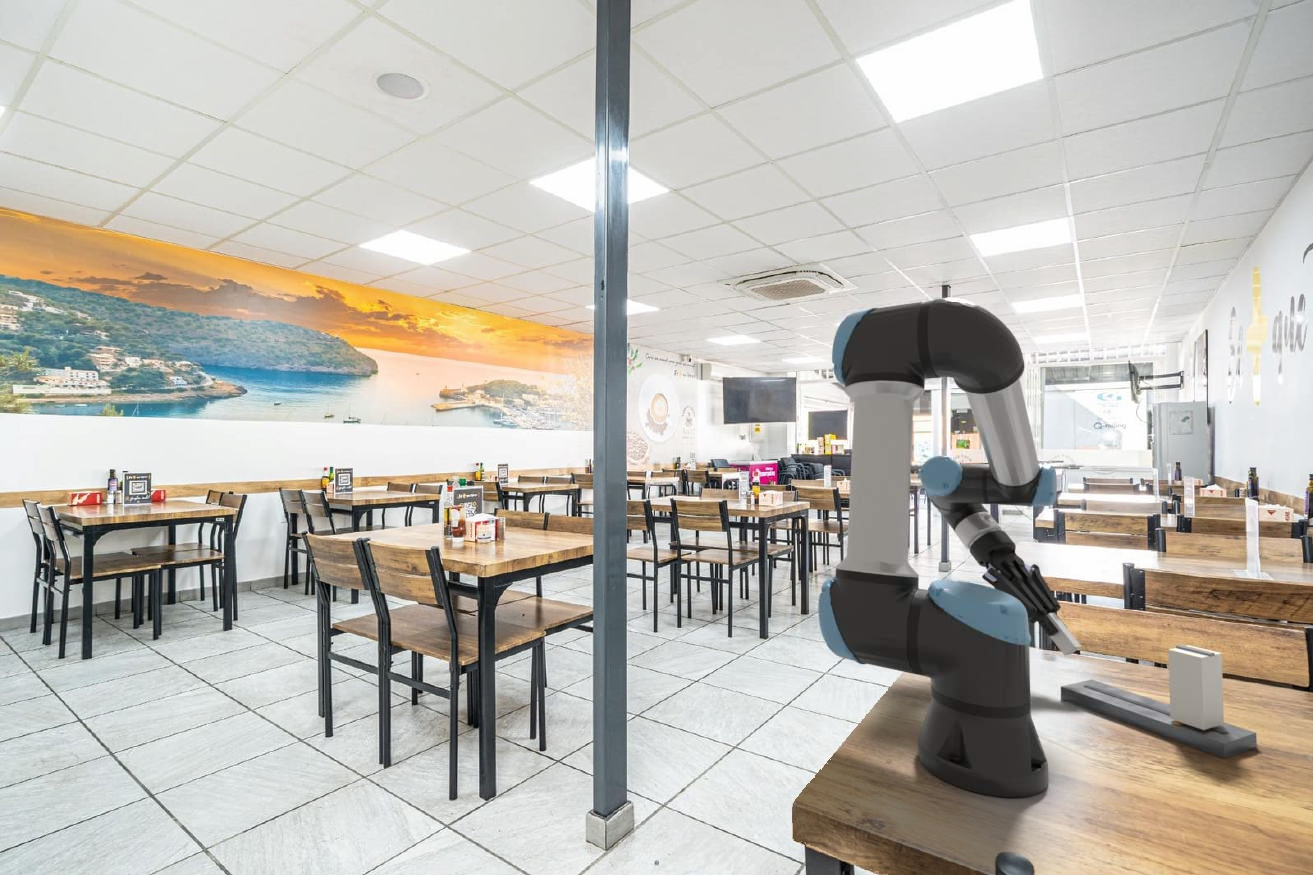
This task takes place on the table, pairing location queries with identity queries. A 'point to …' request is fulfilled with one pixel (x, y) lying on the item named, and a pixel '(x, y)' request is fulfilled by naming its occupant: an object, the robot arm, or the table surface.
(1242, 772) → the table surface
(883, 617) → the robot arm
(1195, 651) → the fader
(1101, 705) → the grey slotted track base
